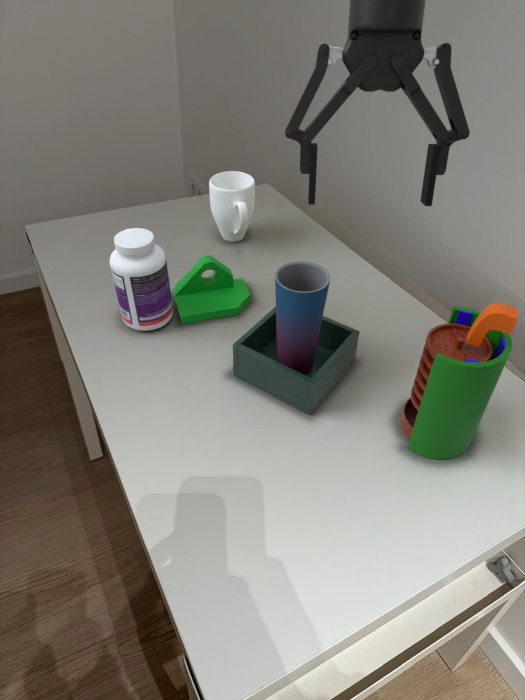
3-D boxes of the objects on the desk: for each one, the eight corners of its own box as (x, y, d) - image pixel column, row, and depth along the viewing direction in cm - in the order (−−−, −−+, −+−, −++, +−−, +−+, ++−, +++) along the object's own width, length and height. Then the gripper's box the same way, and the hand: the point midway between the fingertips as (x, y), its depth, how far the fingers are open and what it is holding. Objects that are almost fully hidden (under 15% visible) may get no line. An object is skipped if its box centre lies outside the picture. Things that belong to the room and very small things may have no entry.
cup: (312, 345, 76) (322, 258, 66) (324, 378, 71) (336, 289, 61) (267, 350, 75) (270, 263, 65) (276, 383, 70) (280, 294, 60)
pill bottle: (181, 306, 84) (172, 227, 74) (162, 337, 78) (150, 256, 68) (134, 298, 85) (119, 220, 75) (113, 329, 79) (94, 248, 70)
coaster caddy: (400, 393, 71) (436, 270, 57) (467, 404, 69) (520, 281, 56) (399, 453, 63) (440, 328, 50) (475, 466, 62) (538, 342, 48)
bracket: (181, 324, 81) (177, 288, 76) (173, 295, 86) (168, 260, 81) (254, 311, 83) (255, 276, 79) (242, 284, 89) (242, 250, 84)
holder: (354, 361, 75) (360, 331, 71) (309, 415, 67) (313, 384, 63) (282, 328, 80) (283, 298, 76) (233, 375, 73) (232, 344, 69)
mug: (207, 228, 103) (204, 173, 95) (247, 223, 105) (247, 168, 97) (222, 260, 94) (220, 202, 87) (265, 253, 96) (267, 196, 89)
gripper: (502, -8, 54) (465, 197, 64) (266, -6, 56) (266, 195, 66) (530, -20, 48) (484, 211, 58) (262, -17, 49) (262, 208, 59)
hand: (368, 203), depth 62 cm, fingers open, 13 cm apart
